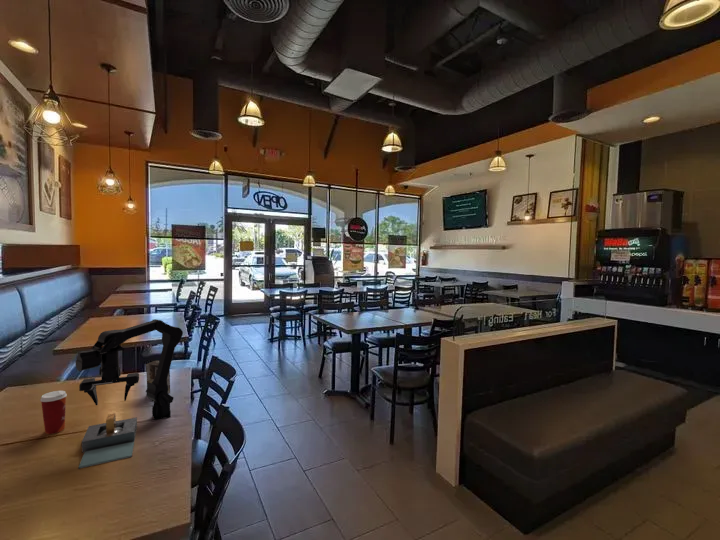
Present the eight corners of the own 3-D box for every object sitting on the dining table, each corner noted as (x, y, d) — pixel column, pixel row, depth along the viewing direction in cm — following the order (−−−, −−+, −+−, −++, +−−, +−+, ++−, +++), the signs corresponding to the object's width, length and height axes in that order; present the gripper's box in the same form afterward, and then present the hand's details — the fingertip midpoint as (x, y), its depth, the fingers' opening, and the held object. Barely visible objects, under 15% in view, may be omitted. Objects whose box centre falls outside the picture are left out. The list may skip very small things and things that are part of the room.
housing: (137, 426, 148) (136, 417, 147) (134, 441, 136) (134, 431, 136) (89, 435, 140) (88, 426, 140) (82, 452, 129) (81, 441, 128)
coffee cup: (72, 428, 146) (71, 392, 145) (48, 437, 139) (46, 399, 138) (61, 423, 150) (59, 388, 149) (36, 432, 142) (35, 395, 141)
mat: (134, 443, 135) (134, 441, 135) (131, 456, 127) (131, 455, 126) (84, 453, 128) (84, 451, 128) (78, 468, 119) (78, 466, 119)
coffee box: (170, 392, 183) (170, 361, 182) (160, 397, 177) (159, 365, 176) (157, 390, 186) (156, 359, 185) (146, 394, 180) (145, 363, 179)
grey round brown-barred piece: (123, 432, 143) (123, 410, 143) (121, 441, 137) (120, 418, 136) (101, 436, 140) (100, 414, 139) (98, 445, 133) (97, 422, 133)
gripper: (139, 355, 151) (140, 391, 152) (85, 361, 142) (86, 399, 143) (137, 362, 141) (138, 401, 142) (78, 369, 132) (79, 410, 133)
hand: (111, 402), depth 140 cm, fingers open, 9 cm apart
